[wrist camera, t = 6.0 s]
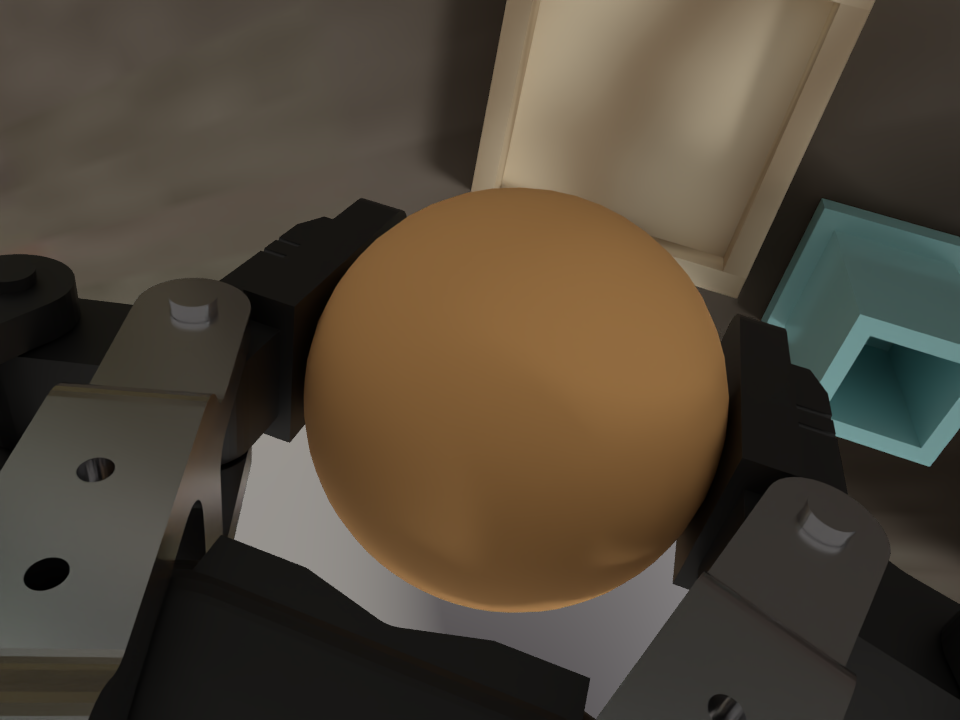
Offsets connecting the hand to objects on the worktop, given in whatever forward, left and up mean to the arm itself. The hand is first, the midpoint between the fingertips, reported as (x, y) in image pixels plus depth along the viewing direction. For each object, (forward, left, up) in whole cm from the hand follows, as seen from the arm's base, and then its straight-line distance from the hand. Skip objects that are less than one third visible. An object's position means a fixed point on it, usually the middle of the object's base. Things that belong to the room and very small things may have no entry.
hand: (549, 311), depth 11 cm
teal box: (-9, +4, -15) cm, 18 cm away
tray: (0, 0, -15) cm, 15 cm away
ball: (0, 0, +2) cm, 2 cm away
